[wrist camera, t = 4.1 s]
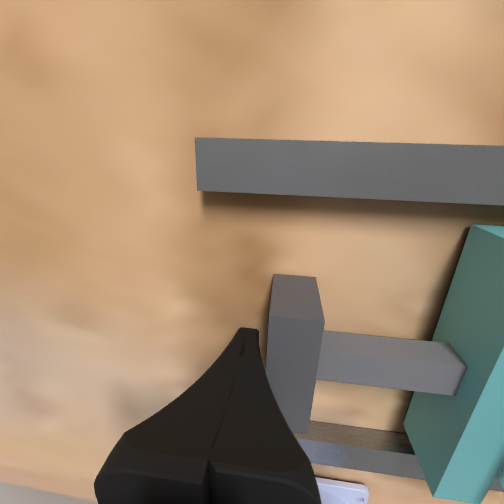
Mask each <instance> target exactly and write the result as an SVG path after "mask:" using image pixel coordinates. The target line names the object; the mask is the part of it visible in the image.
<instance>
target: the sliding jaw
mask: <svg viewBox="0 0 504 504" xmlns="http://www.w3.org/2000/svg"><path fill="white" fill-rule="evenodd" d="M324 323H325V320H324V316H323V311H322V306H321V301H320V296H319V291H318V286H317V282H316V277H306V276H293V275H280V274H274V276H273V285H272V294H271V303H270V312H269V325H268V342H267V358H266V376H267V379H268V382H269V385H270V388H271V390H272V393H273V395H274V397H275V400H276V402H277V404H278V406H279V408H280V410H281V412H282V414H283V416H284V418H285V420H286V422H287V424H288V426H289V428H290V429H291V431H292V433H299V434H308V428H309V421H310V415H311V408H312V402H313V395H314V388H315V382H316V380H324V381H332V382H341V383H349V384H358V385H366V386H375V387H383V388H392V389H400V390H409V391H414V394H413V397H412V400H411V403H410V406H409V409H408V412H407V415H406V417H405V420H404V423H403V425H404V428H405V430H406V433H407V435H408V438H409V440H410V442H411V445H412V447H413V450H414V452H415V455H416V457H417V459H418V462H419V464H420V467H421V469H422V472H423V474H424V476H425V479H426V481H427V484H428V486H429V489H430V491H431V493H432V496H433V497H435V498H441V499H448V500H454V501H460V502H467V503H473V504H481V502H482V500H483V499H484V497H485V495H486V494H487V492H488V490H489V489H490V487H491V485H492V484H493V482H494V480H495V478H496V477H497V475H498V473H499V472H500V470H501V468H502V466H503V465H504V226H495V225H477V224H471V227H470V230H469V233H468V236H467V239H466V242H465V245H464V248H463V251H462V254H461V256H460V259H459V262H458V265H457V268H456V271H455V274H454V277H453V280H452V283H451V286H450V289H449V292H448V294H447V297H446V300H445V303H444V306H443V309H442V312H441V315H440V318H439V321H438V324H437V327H436V330H435V333H434V335H433V338H432V341H422V340H412V339H402V338H392V337H382V336H372V335H362V334H352V333H342V332H332V331H323V330H324Z"/></svg>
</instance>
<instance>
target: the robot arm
mask: <svg viewBox="0 0 504 504" xmlns="http://www.w3.org/2000/svg"><path fill="white" fill-rule="evenodd" d="M94 489H95V495H96V498H97V501H98V504H367V501H368V498H369V491H368V488H367V487H366V486H365V485H362V484H357V483H350V482H344V481H337V480H331V479H324V478H318V477H315V475H314V472H313V469H312V466H311V463H310V460H309V458H308V456H307V455H306V453H305V452H304V450H303V449H302V447H301V446H300V444H299V443H298V441H297V439H296V438H295V436H294V434H293V433H292V431H291V429H290V428H289V426H288V424H287V422H286V420H285V418H284V416H283V414H282V412H281V410H280V408H279V406H278V404H277V402H276V400H275V397H274V395H273V393H272V390H271V388H270V385H269V382H268V379H267V376H266V373H265V370H264V366H263V362H262V358H261V354H260V348H259V331H258V330H257V329H251V328H239V329H238V331H237V333H236V334H235V336H234V337H233V339H232V340H231V342H230V343H229V345H228V346H227V347H226V349H225V350H224V351H223V352H222V354H221V355H220V356H219V358H218V359H217V360H216V361H215V362H214V363H213V364H212V366H211V367H210V368H209V369H208V370H207V371H206V372H205V373H204V374H203V375H202V376H201V377H200V378H199V379H198V380H197V381H196V382H195V383H194V384H193V385H192V386H191V387H189V388H188V389H187V390H186V391H185V392H184V393H182V394H181V395H180V396H179V397H178V398H176V399H175V400H174V401H172V402H171V403H170V404H168V405H167V406H166V407H164V408H163V409H161V410H160V411H159V412H157V413H156V414H154V415H153V416H151V417H150V418H148V419H146V420H145V421H143V422H141V423H140V424H138V425H136V426H135V427H133V428H131V429H130V430H128V431H126V432H125V433H124V434H123V435H122V437H121V438H120V440H119V441H118V443H117V444H116V445H115V447H114V448H113V450H112V451H111V453H110V454H109V456H108V458H107V460H106V461H105V463H104V465H103V466H102V468H101V470H100V472H99V473H98V475H97V477H96V479H95V482H94Z"/></svg>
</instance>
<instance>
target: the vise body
mask: <svg viewBox="0 0 504 504" xmlns="http://www.w3.org/2000/svg"><path fill="white" fill-rule="evenodd" d="M195 153H196V173H197V191H215V192H236V193H256V194H277V195H298V196H318V197H339V198H359V199H380V200H401V201H421V202H442V203H463V204H483V205H504V146H485V145H448V144H411V143H375V142H338V141H302V140H265V139H228V138H195ZM293 434H294V436H295V438H296V439H297V441H298V443H299V444H300V446H301V447H302V449H303V450H304V452H305V453H306V455H307V456H308V458H309V460H310V463H315V464H321V465H328V466H335V467H341V468H348V469H354V470H361V471H368V472H374V473H381V474H388V475H394V476H401V477H408V478H414V479H421V480H426V479H425V476H424V474H423V472H422V469H421V467H420V464H419V462H418V459H417V457H416V455H415V452H414V450H413V447H412V445H411V442H410V440H409V438H408V435H407V434H404V433H396V432H389V431H381V430H374V429H366V428H359V427H352V426H344V425H337V424H329V423H322V422H314V421H309V428H308V434H299V433H293ZM489 490H494V491H501V492H504V488H503V487H502V485H501V484H500V482H499V480H498V479H497V477H496V478H495V480H494V482H493V484H492V485H491V487H490V489H489Z"/></svg>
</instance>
